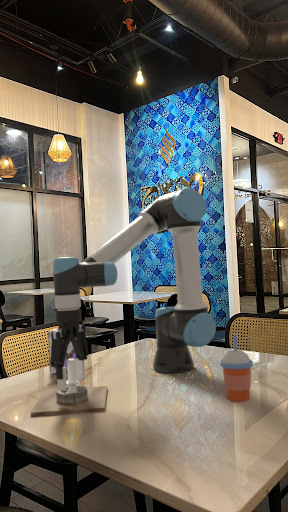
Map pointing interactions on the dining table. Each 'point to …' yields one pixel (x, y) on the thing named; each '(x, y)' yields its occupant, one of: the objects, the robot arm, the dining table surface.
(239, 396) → the cup with straw
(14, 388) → the dining table surface
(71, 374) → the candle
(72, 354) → the candy box
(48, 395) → the flange board
